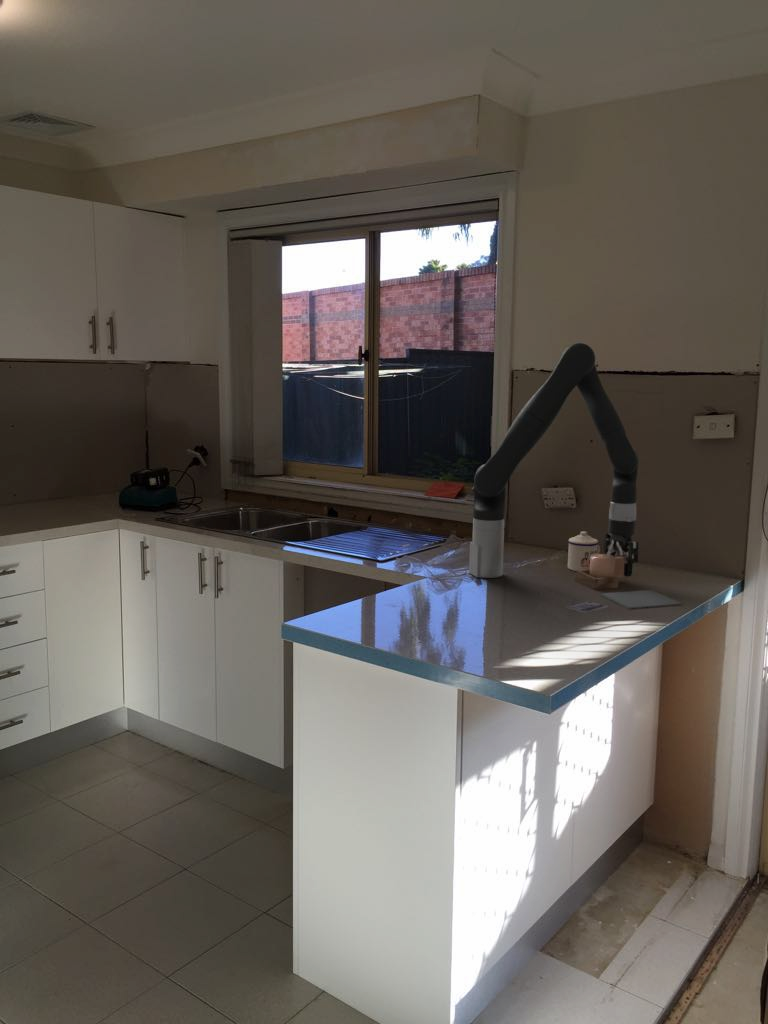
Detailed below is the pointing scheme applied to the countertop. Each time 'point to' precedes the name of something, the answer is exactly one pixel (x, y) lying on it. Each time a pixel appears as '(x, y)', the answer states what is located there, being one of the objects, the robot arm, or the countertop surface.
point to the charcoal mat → (640, 599)
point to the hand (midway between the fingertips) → (619, 572)
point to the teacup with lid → (581, 551)
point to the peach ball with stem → (606, 566)
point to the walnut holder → (595, 580)
